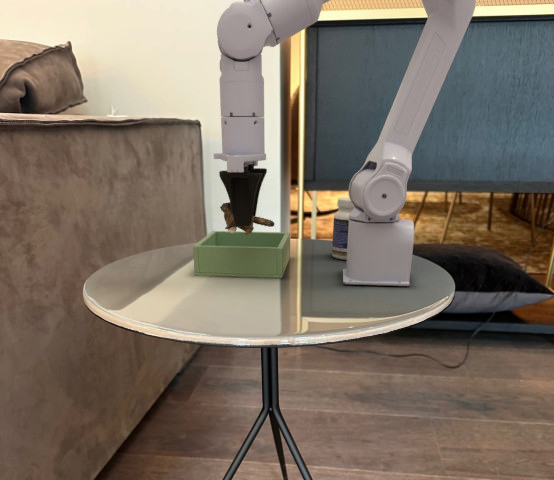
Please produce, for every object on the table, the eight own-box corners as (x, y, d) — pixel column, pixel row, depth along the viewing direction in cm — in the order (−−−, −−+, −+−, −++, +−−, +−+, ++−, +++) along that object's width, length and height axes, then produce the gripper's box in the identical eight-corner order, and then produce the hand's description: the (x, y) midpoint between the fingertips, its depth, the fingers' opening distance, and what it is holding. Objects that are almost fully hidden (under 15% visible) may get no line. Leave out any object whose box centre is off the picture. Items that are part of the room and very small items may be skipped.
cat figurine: (219, 227, 76) (223, 199, 75) (271, 240, 76) (277, 212, 74) (214, 231, 74) (218, 202, 72) (268, 244, 74) (274, 215, 72)
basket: (289, 258, 92) (289, 232, 90) (282, 278, 79) (282, 248, 78) (213, 256, 93) (212, 230, 91) (194, 275, 81) (192, 246, 79)
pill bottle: (356, 262, 89) (360, 201, 85) (326, 258, 92) (328, 199, 88) (369, 256, 94) (373, 198, 90) (340, 252, 96) (343, 196, 92)
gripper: (223, 118, 76) (226, 215, 81) (200, 115, 63) (206, 231, 68) (271, 118, 75) (271, 216, 81) (258, 115, 62) (260, 232, 68)
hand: (245, 223), depth 74 cm, fingers closed on cat figurine, 3 cm apart
